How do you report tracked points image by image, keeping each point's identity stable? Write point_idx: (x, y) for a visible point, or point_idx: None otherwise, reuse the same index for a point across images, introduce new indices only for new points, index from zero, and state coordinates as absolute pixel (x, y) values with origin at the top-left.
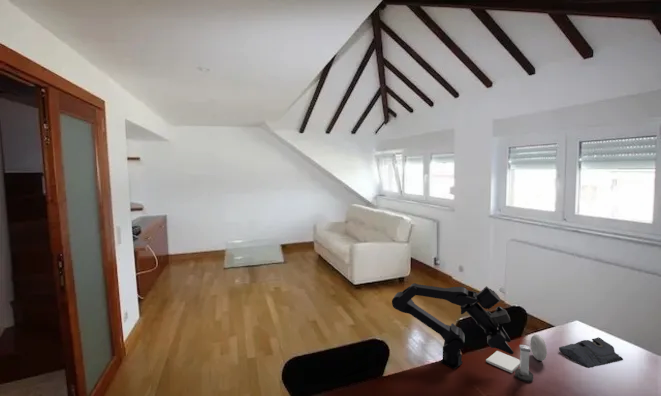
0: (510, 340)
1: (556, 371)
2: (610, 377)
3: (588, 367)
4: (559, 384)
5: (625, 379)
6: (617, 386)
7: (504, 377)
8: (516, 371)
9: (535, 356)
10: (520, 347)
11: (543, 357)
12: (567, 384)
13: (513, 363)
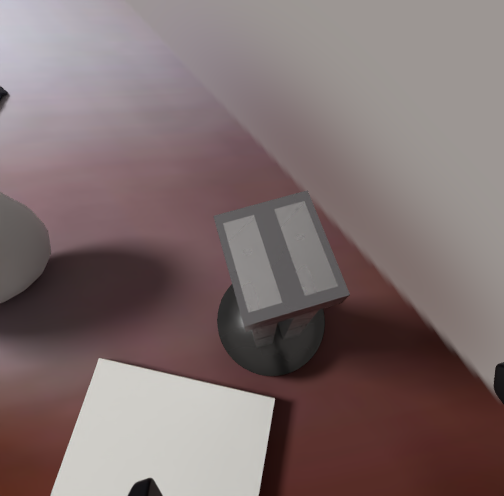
0: (149, 485)
1: (108, 191)
2: (54, 35)
3: (5, 91)
4: (227, 170)
5: (46, 4)
6: (113, 20)
7: (357, 432)
8: (279, 365)
9: (21, 285)
10: (330, 299)
11: (46, 229)
12: (205, 145)
13: (168, 407)
